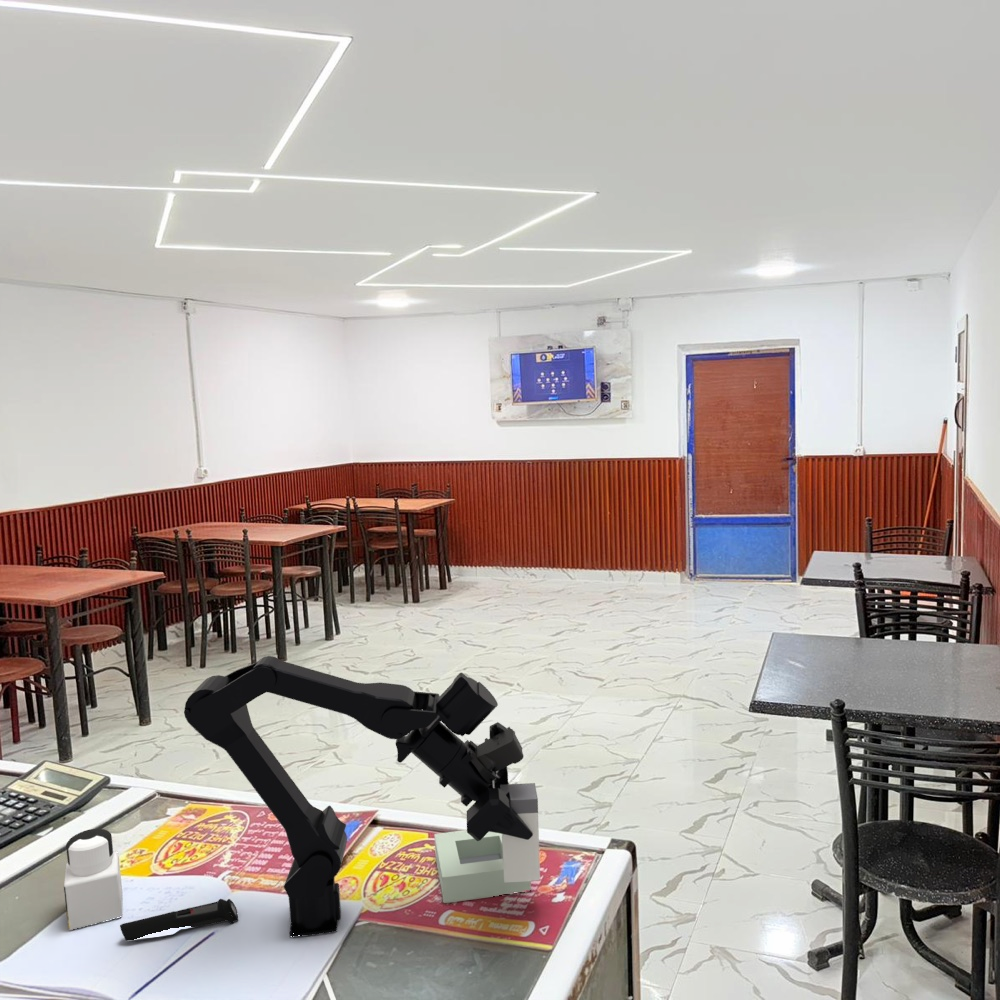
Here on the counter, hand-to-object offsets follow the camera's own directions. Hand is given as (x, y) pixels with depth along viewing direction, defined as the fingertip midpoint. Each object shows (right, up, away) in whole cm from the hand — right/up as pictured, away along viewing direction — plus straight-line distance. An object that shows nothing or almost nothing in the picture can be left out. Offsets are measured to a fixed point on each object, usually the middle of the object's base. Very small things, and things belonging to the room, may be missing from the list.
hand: (529, 827), depth 124 cm
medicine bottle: (-64, -15, +5) cm, 66 cm away
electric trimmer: (-49, -15, 0) cm, 51 cm away
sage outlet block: (-7, -11, +11) cm, 18 cm away
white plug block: (-1, -7, +1) cm, 7 cm away
